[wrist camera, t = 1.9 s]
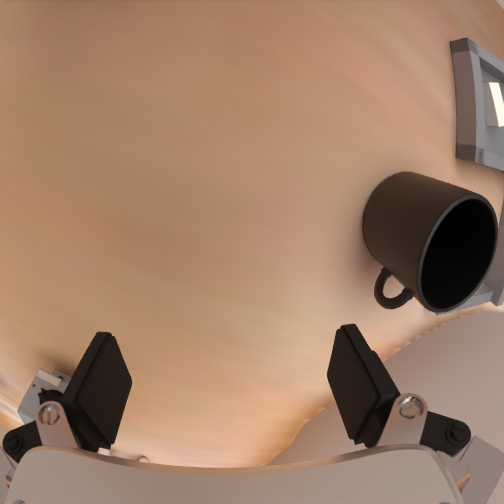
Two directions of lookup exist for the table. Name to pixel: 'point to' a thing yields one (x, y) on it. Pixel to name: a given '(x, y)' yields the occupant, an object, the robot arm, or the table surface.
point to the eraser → (493, 104)
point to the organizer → (479, 142)
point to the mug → (429, 240)
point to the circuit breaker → (42, 393)
